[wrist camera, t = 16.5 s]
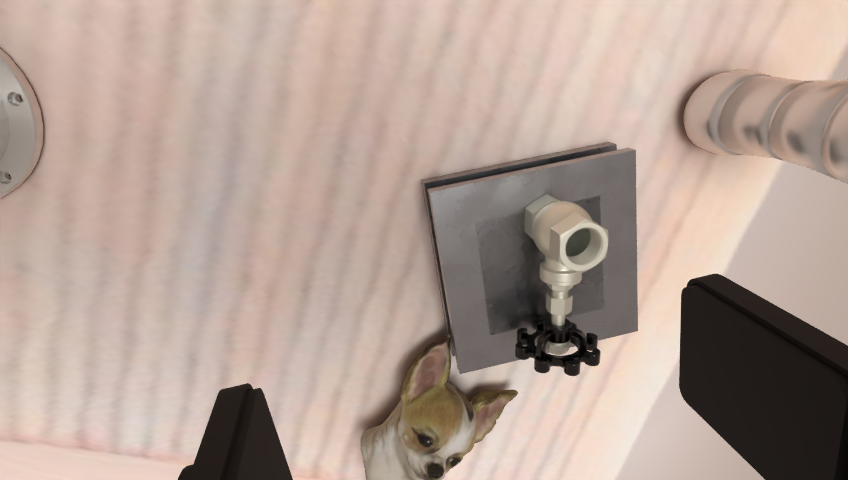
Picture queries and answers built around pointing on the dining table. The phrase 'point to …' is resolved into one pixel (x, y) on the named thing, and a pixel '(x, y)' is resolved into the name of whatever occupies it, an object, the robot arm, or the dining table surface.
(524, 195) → the stand
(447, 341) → the ceramic sculpture
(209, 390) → the dining table surface
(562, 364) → the valve
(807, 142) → the plastic bottle
